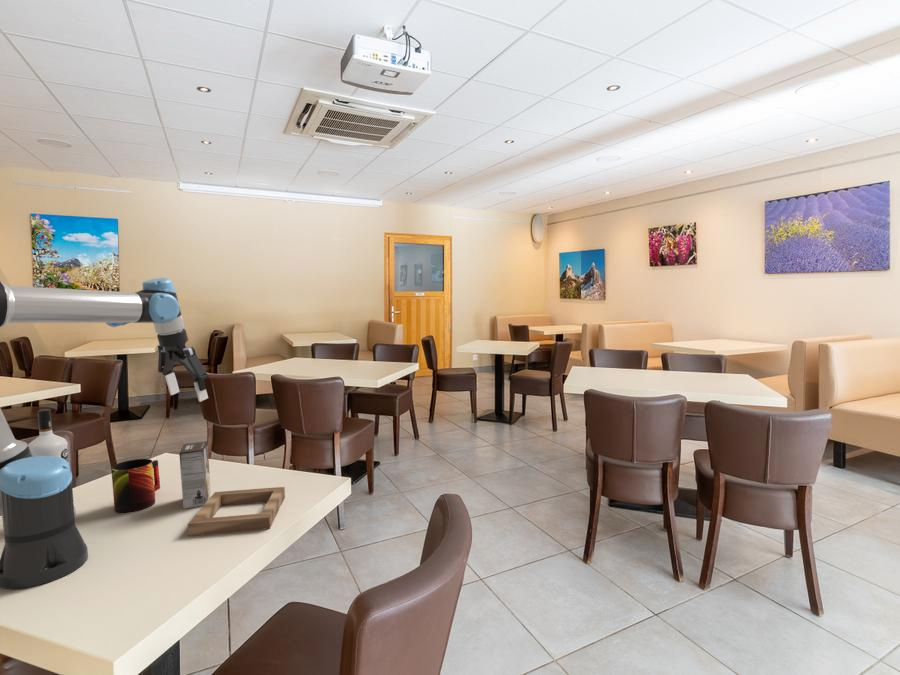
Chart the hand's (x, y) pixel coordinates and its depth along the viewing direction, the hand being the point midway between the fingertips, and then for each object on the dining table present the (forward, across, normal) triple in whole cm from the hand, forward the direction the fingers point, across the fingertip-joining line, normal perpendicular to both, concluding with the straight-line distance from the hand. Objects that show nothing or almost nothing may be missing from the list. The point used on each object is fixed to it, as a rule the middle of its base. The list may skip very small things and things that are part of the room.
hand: (189, 396), depth 150 cm
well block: (+22, -34, +15) cm, 43 cm away
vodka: (+20, +8, +39) cm, 44 cm away
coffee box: (+24, -14, +14) cm, 32 cm away
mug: (+23, 0, +23) cm, 33 cm away
